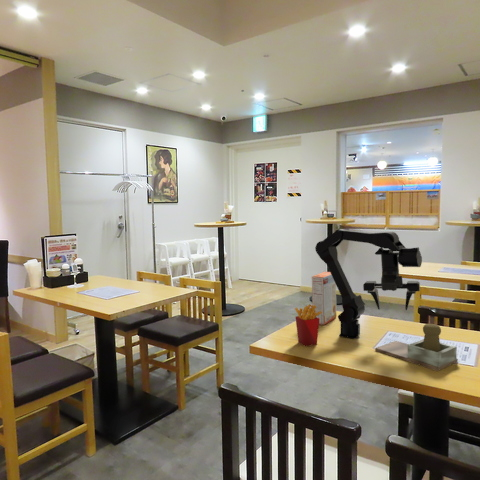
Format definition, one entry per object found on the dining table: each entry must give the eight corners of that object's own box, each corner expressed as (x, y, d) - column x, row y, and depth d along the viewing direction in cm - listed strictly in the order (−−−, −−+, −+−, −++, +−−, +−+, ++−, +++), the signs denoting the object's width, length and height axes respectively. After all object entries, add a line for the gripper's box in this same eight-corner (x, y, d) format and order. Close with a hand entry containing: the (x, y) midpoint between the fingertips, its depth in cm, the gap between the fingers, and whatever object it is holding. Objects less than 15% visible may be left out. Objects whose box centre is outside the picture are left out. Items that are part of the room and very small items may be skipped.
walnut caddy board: (375, 350, 138) (375, 336, 137) (396, 343, 144) (396, 329, 144) (437, 371, 120) (437, 354, 119) (457, 361, 126) (457, 346, 126)
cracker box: (324, 316, 183) (324, 271, 182) (336, 317, 180) (336, 272, 178) (311, 323, 172) (311, 275, 170) (324, 325, 168) (324, 276, 167)
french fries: (294, 342, 148) (294, 302, 147) (313, 338, 151) (313, 300, 150) (307, 349, 140) (307, 307, 139) (327, 346, 143) (327, 305, 142)
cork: (446, 360, 125) (446, 326, 124) (428, 362, 124) (428, 327, 123) (434, 353, 131) (435, 321, 130) (417, 355, 130) (417, 322, 129)
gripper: (359, 270, 139) (362, 313, 140) (417, 269, 131) (420, 316, 132) (364, 266, 149) (367, 307, 150) (418, 265, 141) (421, 308, 142)
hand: (392, 309), depth 143 cm, fingers open, 9 cm apart
